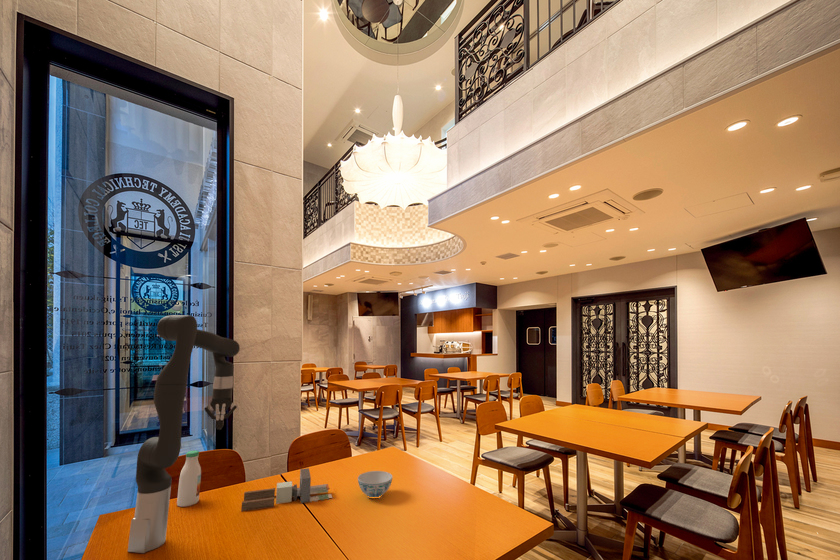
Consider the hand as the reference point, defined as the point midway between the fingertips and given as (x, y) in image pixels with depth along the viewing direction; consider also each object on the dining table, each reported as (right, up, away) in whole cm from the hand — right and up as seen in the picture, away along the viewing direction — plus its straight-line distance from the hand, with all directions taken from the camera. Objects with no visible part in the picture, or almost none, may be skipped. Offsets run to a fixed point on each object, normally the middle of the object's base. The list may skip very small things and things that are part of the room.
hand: (219, 429), depth 156 cm
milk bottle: (-10, -29, -5) cm, 31 cm away
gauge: (+30, -29, -1) cm, 42 cm away
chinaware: (+66, -30, +2) cm, 73 cm away
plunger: (+39, -29, +1) cm, 49 cm away
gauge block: (+28, -29, -2) cm, 41 cm away
